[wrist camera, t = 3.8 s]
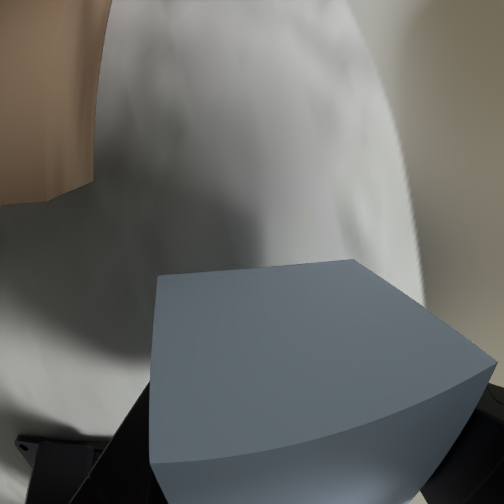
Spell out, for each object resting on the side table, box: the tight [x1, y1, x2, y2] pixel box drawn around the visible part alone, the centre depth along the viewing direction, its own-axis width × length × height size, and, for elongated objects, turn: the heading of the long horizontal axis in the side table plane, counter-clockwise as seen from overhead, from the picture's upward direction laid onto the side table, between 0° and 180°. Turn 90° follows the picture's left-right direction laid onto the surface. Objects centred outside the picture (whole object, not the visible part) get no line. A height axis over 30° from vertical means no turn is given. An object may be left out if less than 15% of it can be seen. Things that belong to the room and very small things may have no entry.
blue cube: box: [149, 259, 498, 504], centre depth 6 cm, size 5×5×5 cm
